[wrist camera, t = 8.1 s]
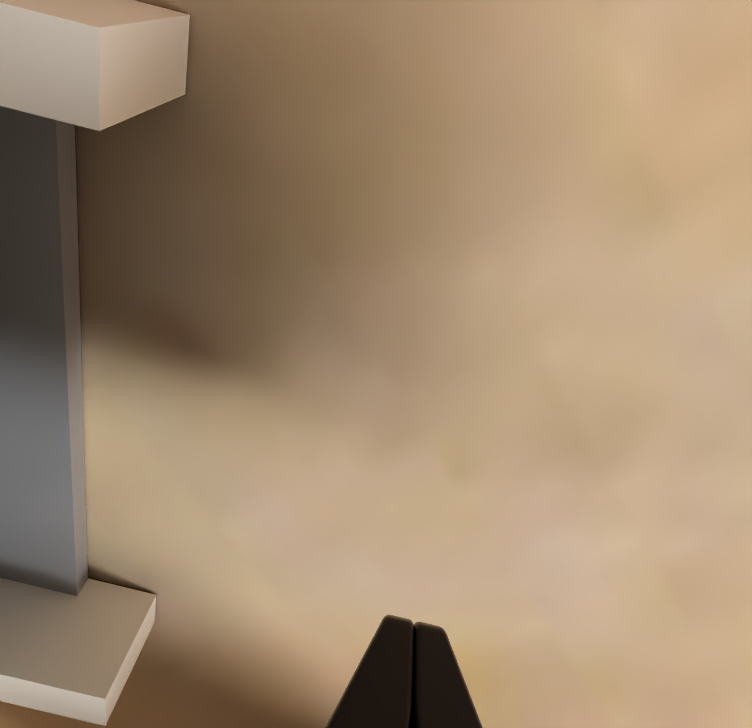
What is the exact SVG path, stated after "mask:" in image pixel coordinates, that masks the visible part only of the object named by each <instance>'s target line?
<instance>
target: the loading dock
mask: <svg viewBox="0 0 752 728" xmlns="http://www.w3.org/2000/svg"><path fill="white" fill-rule="evenodd" d="M189 22H190V15H189V14H185V13H181V12H177V11H174V10H170V9H166V8H162V7H158V6H154V5H150V4H147V3H143V2H139V1H135V0H0V701H2V702H6V703H10V704H14V705H19V706H23V707H27V708H31V709H36V710H40V711H44V712H48V713H52V714H57V715H61V716H65V717H69V718H73V719H78V720H82V721H86V722H90V723H95V724H99V725H103V726H106V724H107V721H108V719H109V717H110V715H111V713H112V711H113V709H114V707H115V705H116V702H117V700H118V698H119V696H120V694H121V692H122V690H123V688H124V686H125V683H126V681H127V679H128V677H129V675H130V673H131V671H132V669H133V667H134V664H135V662H136V660H137V658H138V656H139V654H140V652H141V650H142V648H143V645H144V643H145V641H146V639H147V637H148V635H149V633H150V631H151V629H152V626H153V624H154V622H155V610H156V595H155V594H151V593H147V592H143V591H139V590H134V589H130V588H126V587H122V586H118V585H114V584H110V583H105V582H101V581H97V580H93V579H89V578H88V557H87V524H86V490H85V456H84V422H83V388H82V355H81V321H80V287H79V253H78V219H77V186H76V152H75V125H78V126H82V127H85V128H89V129H93V130H97V131H101V130H103V129H106V128H108V127H110V126H113V125H115V124H117V123H120V122H122V121H124V120H127V119H129V118H131V117H134V116H136V115H138V114H141V113H143V112H145V111H148V110H150V109H152V108H155V107H157V106H159V105H162V104H164V103H166V102H169V101H171V100H173V99H176V98H178V97H180V96H183V95H185V91H186V74H187V57H188V39H189Z"/></svg>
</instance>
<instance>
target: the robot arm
mask: <svg viewBox="0 0 752 728" xmlns="http://www.w3.org/2000/svg"><path fill="white" fill-rule="evenodd" d="M326 728H482V725H481V722H480V720H479V717H478V715H477V712H476V709H475V707H474V704H473V702H472V699H471V696H470V694H469V691H468V689H467V686H466V683H465V681H464V678H463V676H462V673H461V670H460V668H459V665H458V663H457V660H456V657H455V655H454V652H453V650H452V647H451V644H450V642H449V639H448V637H447V634H446V632H445V631H444V629H443V628H441V627H439V626H435V625H431V624H427V623H423V622H416V623H415V624H414V625H413V622H412V621H411V620H409V619H405V618H401V617H397V616H393V615H386V616H385V617H384V618H383V620H382V622H381V624H380V625H379V627H378V629H377V631H376V633H375V635H374V637H373V639H372V641H371V642H370V644H369V646H368V648H367V650H366V652H365V654H364V656H363V658H362V660H361V661H360V663H359V665H358V667H357V669H356V671H355V673H354V675H353V677H352V678H351V680H350V682H349V684H348V686H347V688H346V690H345V692H344V694H343V696H342V697H341V699H340V701H339V703H338V705H337V707H336V709H335V711H334V713H333V714H332V716H331V718H330V720H329V722H328V724H327V726H326Z"/></svg>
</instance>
